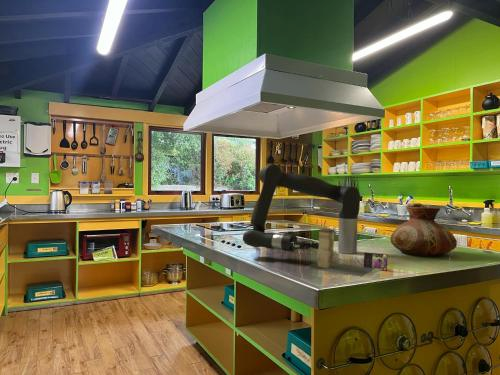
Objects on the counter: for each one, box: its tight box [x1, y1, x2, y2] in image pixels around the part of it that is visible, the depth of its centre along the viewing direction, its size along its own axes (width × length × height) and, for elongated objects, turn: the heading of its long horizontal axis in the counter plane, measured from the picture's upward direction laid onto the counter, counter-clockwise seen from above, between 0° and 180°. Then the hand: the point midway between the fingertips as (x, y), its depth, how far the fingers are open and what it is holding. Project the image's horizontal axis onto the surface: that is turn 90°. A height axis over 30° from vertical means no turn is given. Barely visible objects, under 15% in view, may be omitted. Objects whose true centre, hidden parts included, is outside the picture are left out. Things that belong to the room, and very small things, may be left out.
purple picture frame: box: [362, 252, 388, 272], centre depth 153 cm, size 7×5×9 cm
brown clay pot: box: [389, 202, 458, 258], centre depth 189 cm, size 30×30×25 cm
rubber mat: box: [303, 261, 374, 277], centre depth 150 cm, size 16×24×1 cm
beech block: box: [317, 228, 335, 268], centre depth 153 cm, size 6×4×15 cm, turn 146°
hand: (321, 246), depth 154 cm, fingers closed
